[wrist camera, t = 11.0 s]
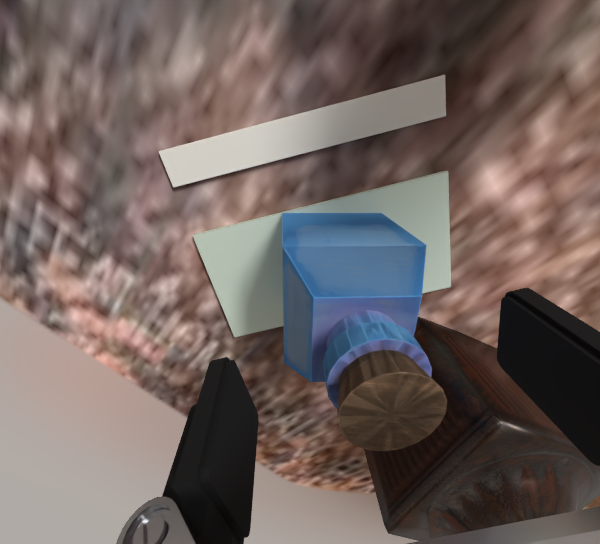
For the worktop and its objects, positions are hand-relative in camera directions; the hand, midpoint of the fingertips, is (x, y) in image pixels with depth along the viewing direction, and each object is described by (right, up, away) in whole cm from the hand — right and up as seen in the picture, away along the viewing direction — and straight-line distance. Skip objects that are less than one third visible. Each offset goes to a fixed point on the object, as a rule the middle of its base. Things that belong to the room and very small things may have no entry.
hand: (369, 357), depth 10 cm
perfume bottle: (0, +4, +9) cm, 10 cm away
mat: (0, +4, +10) cm, 10 cm away
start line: (-2, +11, +6) cm, 13 cm away
